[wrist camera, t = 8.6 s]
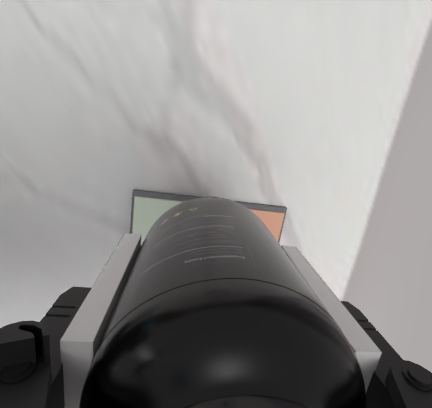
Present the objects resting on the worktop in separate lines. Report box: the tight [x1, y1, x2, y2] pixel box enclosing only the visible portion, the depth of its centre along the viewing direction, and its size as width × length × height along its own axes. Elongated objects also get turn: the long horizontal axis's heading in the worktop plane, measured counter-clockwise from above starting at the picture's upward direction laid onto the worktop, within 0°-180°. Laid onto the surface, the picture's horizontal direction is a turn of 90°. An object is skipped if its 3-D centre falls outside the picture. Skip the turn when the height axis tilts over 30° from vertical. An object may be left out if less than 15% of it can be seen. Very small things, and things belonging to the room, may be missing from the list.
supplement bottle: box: [79, 197, 367, 408], centre depth 9 cm, size 7×7×12 cm
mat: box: [130, 190, 287, 245], centre depth 30 cm, size 16×10×1 cm, turn 82°
